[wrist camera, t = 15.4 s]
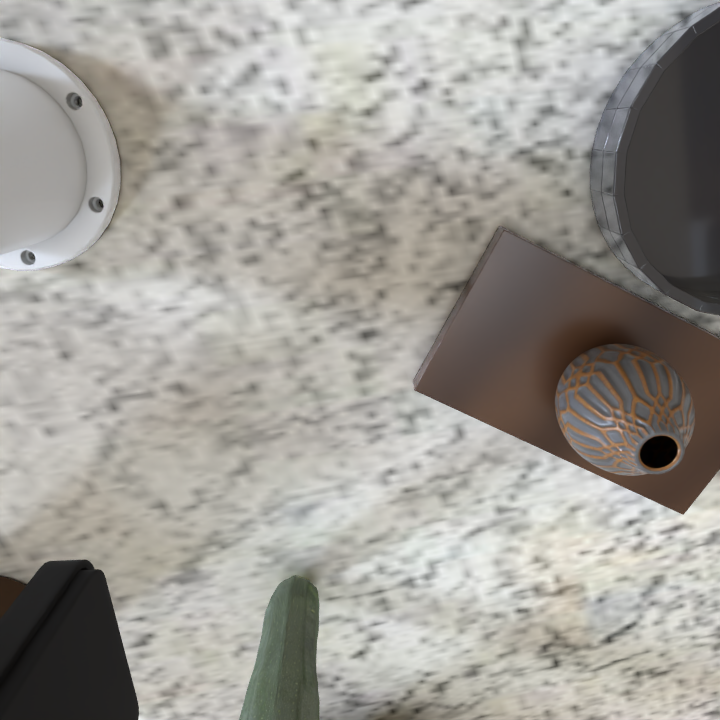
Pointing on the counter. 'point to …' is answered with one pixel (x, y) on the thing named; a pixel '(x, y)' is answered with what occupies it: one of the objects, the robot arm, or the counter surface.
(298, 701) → the vegetable
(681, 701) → the counter surface
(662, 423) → the vase
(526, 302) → the board
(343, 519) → the counter surface
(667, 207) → the pan
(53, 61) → the robot arm
